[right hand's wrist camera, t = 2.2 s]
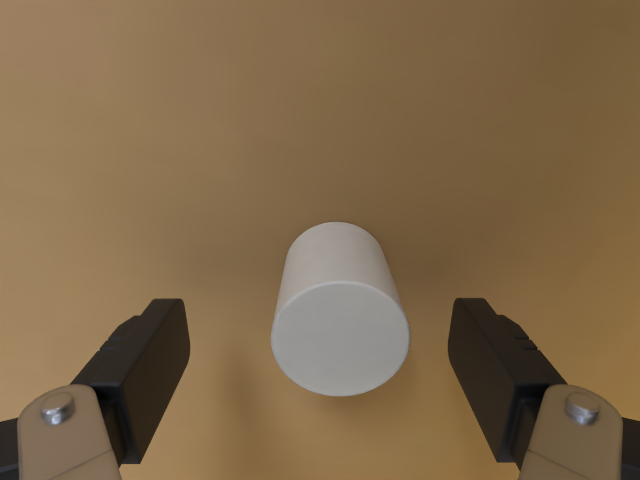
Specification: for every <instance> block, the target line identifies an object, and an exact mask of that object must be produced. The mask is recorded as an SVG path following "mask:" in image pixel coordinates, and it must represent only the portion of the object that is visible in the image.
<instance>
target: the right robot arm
mask: <svg viewBox="0 0 640 480" xmlns="http://www.w3.org/2000/svg"><path fill="white" fill-rule="evenodd" d="M448 355H449V360H450V363H451V365H452V368H453V370H454V372H455V374H456V376H457V378H458V380H459V382H460V385H461V387H462V389H463V391H464V393H465V395H466V397H467V399H468V402H469V404H470V406H471V408H472V410H473V412H474V414H475V416H476V419H477V421H478V423H479V425H480V427H481V429H482V431H483V433H484V436H485V438H486V440H487V442H488V444H489V446H490V448H491V451H492V453H493V455H494V457H495V459H496V461H497V462H515V463H516V465H517V466H518V468H519V470H520V474H519V478H518V480H640V421H636V420H632V419H628V418H623V417H621V416H620V414H619V412H618V411H617V410H616V409H615V408H614V406H612V405H611V404H610V403H609V402H608V401H607V400H605V399H604V398H602V397H601V396H599V395H597V394H595V393H593V392H592V391H589V390H587V389H584V388H581V387H578V386H574V385H568V384H567V383H566V381H565V380H564V379H563V378H562V377H561V375H560V374H559V373H558V372H557V371H556V369H555V368H554V367H553V366H552V364H551V363H550V362H549V361H548V360H547V358H546V357H545V356H544V355H543V354H542V352H541V351H540V350H538V349H537V346H536V345H535V344H534V343H533V342H532V340H529V337H528V336H527V334H526V333H525V332H524V331H523V330H522V328H521V327H520V326H519V325H518V324H516V323H515V322H513V321H512V320H510V319H509V318H507V317H506V316H504V315H497V314H496V313H495V312H494V310H493V309H492V308H491V306H490V305H489V304H488V302H487V301H486V300H485V299H484V298H457V299H456V300H455V302H454V305H453V312H452V318H451V325H450V332H449V339H448ZM189 356H190V339H189V332H188V326H187V319H186V312H185V306H184V302H183V300H182V299H154V300H152V301H151V303H150V304H149V305H148V307H147V308H146V309H145V310H144V312H143V313H142V314H141V316H133V317H132V318H130V319H129V320H127V321H126V322H124V323H123V324H121V325H119V326H118V327H117V329H116V330H115V331H114V332H113V333H112V335H111V336H110V337H109V338H108V341H106V342H105V343H104V344H103V345H102V346H101V348H100V351H97V352H96V354H95V355H94V356H93V357H92V358H91V360H90V361H89V362H88V363H87V364H86V366H85V367H84V368H83V369H82V370H81V372H80V373H79V374H78V375H77V376H76V377H75V379H74V380H73V381H72V382H71V383H70V385H66V386H62V387H59V388H56V389H53V390H51V391H48V392H47V393H45V394H43V395H41V396H39V397H38V398H36V399H35V400H33V401H32V402H31V403H30V404H29V405H28V406H26V408H25V409H24V410H23V411H22V412H21V414H20V416H19V417H18V418H15V419H11V420H6V421H2V422H0V480H122V478H121V474H120V471H119V468H120V466H121V464H140V463H141V461H142V459H143V457H144V454H145V452H146V450H147V448H148V446H149V444H150V442H151V440H152V438H153V436H154V433H155V431H156V429H157V427H158V425H159V423H160V421H161V419H162V417H163V415H164V412H165V410H166V408H167V406H168V404H169V402H170V400H171V398H172V396H173V394H174V391H175V389H176V387H177V385H178V383H179V381H180V379H181V377H182V375H183V372H184V370H185V368H186V366H187V364H188V361H189Z"/></svg>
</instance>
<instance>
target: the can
mask: <svg viewBox="0 0 640 480" xmlns="http://www.w3.org/2000/svg"><path fill="white" fill-rule="evenodd" d="M410 337H411V336H410V327H409V323H408V320H407V317H406V314H405V312H404V309H403V306H402V303H401V300H400V298H399V295H398V292H397V289H396V286H395V284H394V281H393V278H392V275H391V272H390V270H389V267H388V264H387V261H386V258H385V256H384V253H383V251H382V248H381V246H380V245H379V243H378V242H377V240H376V239H375V238H374V237H373V236H372V235H371V234H370V233H368V232H367V231H366V230H364V229H362V228H360V227H358V226H356V225H353V224H349V223H345V222H328V223H323V224H319V225H316V226H314V227H311V228H310V229H308V230H306V231H305V232H303V233H302V234H301V235H300V236H299V237H298V238H297V239H296V240H295V241H294V243H293V244H292V245H291V247H290V249H289V251H288V254H287V257H286V261H285V266H284V271H283V276H282V281H281V286H280V291H279V296H278V301H277V306H276V310H275V315H274V320H273V325H272V330H271V348H272V351H273V355H274V357H275V360H276V362H277V364H278V365H279V367H280V369H281V370H282V371H283V372H284V374H285V375H286V376H287V377H288V378H289V379H291V380H292V381H293V382H294V383H296V384H297V385H299V386H301V387H302V388H304V389H306V390H309V391H311V392H314V393H317V394H321V395H327V396H336V397H340V396H353V395H358V394H362V393H365V392H368V391H371V390H373V389H375V388H377V387H379V386H381V385H382V384H384V383H385V382H387V381H388V380H389V379H390V378H392V377H393V376H394V375H395V374H396V373H397V371H398V370H399V369H400V367H401V366H402V364H403V363H404V361H405V359H406V356H407V354H408V351H409V346H410Z"/></svg>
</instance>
